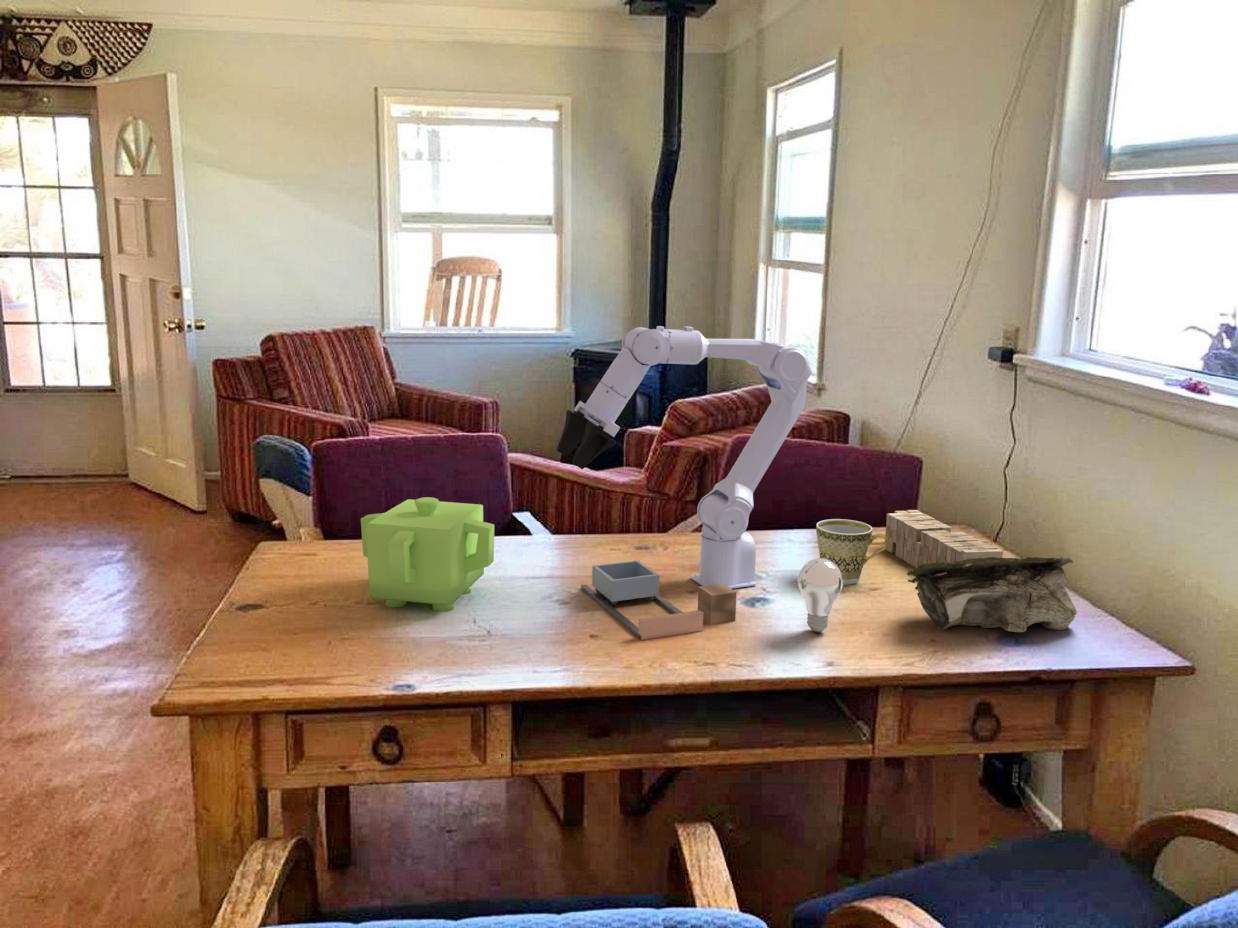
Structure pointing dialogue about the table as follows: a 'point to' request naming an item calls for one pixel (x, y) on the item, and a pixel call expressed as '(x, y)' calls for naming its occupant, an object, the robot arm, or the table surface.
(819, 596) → the light bulb
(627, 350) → the robot arm
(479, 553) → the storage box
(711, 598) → the walnut block
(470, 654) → the table surface
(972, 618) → the driftwood chunk
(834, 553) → the ceramic cup
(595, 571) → the grey open tray bin
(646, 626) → the rails
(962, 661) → the table surface
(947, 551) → the block tower
